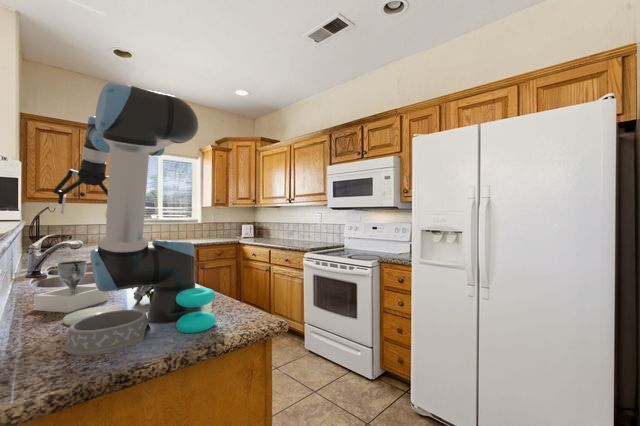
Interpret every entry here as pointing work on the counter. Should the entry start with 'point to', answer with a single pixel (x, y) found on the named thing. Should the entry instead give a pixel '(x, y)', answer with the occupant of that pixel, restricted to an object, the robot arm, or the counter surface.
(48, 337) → the counter surface
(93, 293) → the holder
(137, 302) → the passion flower
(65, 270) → the wine glass
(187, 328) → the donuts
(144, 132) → the robot arm
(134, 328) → the dog bowl
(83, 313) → the plate
